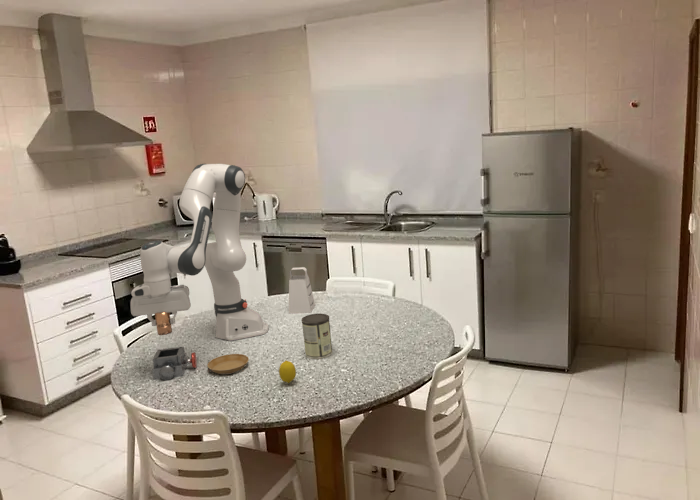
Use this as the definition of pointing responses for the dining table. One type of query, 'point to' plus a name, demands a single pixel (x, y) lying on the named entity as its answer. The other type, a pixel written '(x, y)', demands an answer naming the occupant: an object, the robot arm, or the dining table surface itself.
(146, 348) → the dining table surface
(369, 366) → the dining table surface
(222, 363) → the plant saucer
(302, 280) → the grater
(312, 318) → the coffee can
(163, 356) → the valve body
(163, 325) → the cylinder
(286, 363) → the lemon
